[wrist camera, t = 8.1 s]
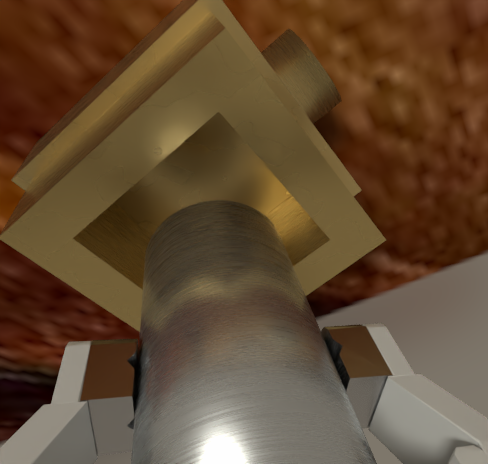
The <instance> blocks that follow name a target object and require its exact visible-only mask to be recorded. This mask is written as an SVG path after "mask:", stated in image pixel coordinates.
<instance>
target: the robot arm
mask: <svg viewBox="0 0 488 464" xmlns="http://www.w3.org/2000/svg"><path fill="white" fill-rule="evenodd" d="M321 334H322V336H323V338H324V341H325V343H326V345H327V348H328V350H329V352H330V355H331V357H332V359H333V362H334V364H335V367H336V369H337V371H338V374H339V376H340V378H341V381H342V383H343V385H344V388H345V390H346V392H347V395H348V397H349V400H350V402H351V404H352V407H353V409H354V411H355V414H356V416H357V418H358V421H359V423H360V425H361V428H369V430H370V431H371V432H372V433H373V434H374V435H375V436H376V437H377V438H378V439H379V440H380V441H381V442H382V443H383V444H384V445H385V446H386V447H387V448H388V449H389V450H390V451H391V452H392V453H393V454H394V455H395V456H396V457H397V458H398V459H399V460H400V461H401V462H402V463H403V464H488V418H486V417H485V416H484V415H482V414H481V413H479V412H478V411H476V410H475V409H473V408H472V407H470V406H469V405H467V404H466V403H464V402H463V401H461V400H460V399H458V398H457V397H455V396H453V395H452V394H450V393H449V392H448V391H446V390H444V389H443V388H442V387H440V386H438V385H437V384H436V383H434V382H433V381H431V380H429V379H428V378H427V377H425V376H424V375H422V374H415V373H414V371H413V370H412V368H411V366H410V365H409V363H408V362H407V360H406V358H405V357H404V355H403V353H402V352H401V350H400V349H399V347H398V345H397V344H396V342H395V341H394V339H393V337H392V336H391V334H390V333H389V331H388V329H387V328H386V326H385V325H383V324H382V323H376V324H363V325H348V326H334V327H324V328H323V329H322V331H321ZM138 359H139V346H138V339H120V340H93V341H77V342H69V343H68V344H67V346H66V348H65V352H64V355H63V359H62V363H61V367H60V371H59V375H58V379H57V383H56V387H55V390H54V394H53V398H52V402H51V404H48V405H43V406H42V407H41V408H40V409H39V410H38V411H37V412H36V413H35V414H34V415H33V416H32V417H31V418H30V419H29V420H28V421H27V422H26V423H25V424H24V425H23V426H22V427H21V428H20V429H19V430H18V431H17V432H16V433H15V434H14V435H13V436H12V437H11V438H10V439H9V440H8V441H7V442H6V443H5V444H4V445H3V446H2V447H1V448H0V464H94V463H95V461H96V460H97V456H99V455H107V454H115V453H122V452H129V451H132V444H133V429H134V418H135V404H136V384H137V373H138Z"/></svg>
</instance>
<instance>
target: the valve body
mask: <svg viewBox="0 0 488 464" xmlns="http://www.w3.org/2000/svg"><path fill="white" fill-rule="evenodd" d="M341 101H342V100H341V97H340V94H339V92H338V90H337V89H336V87H335V85H334V84H333V82H332V80H331V79H330V77H329V76H328V74H327V73H326V71H325V70H324V68H323V67H322V66H321V64H320V63H319V61H318V60H317V59H316V57H315V56H314V55H313V53H312V52H311V51H310V50H309V48H308V47H307V46H306V45H305V44H304V42H303V41H302V40H301V39H300V38H299V37H298V36H297V35H296V34H295V33H294V32H293V31H292V30H290V29H287V30H286V31H285V32H284V33H283V34H282V35H281V36H279V37H278V38H277V39H276V40H275V41H274V42H273V43H272V44H270V45H269V46H268V47H267V48H266V49H265V50H264V51H263V52H261V53H260V51H259V50H258V49H257V47H256V46H255V45H254V43H253V42H252V40H251V39H250V38H249V36H248V35H247V34H246V32H245V31H244V30H243V28H242V27H241V25H240V24H239V23H238V21H237V20H236V19H235V17H234V16H233V15H232V13H231V12H230V11H229V9H228V8H227V6H226V5H225V4H224V2H223V1H222V0H183V1H182V2H181V3H180V4H179V5H178V6H177V7H175V8H174V9H173V10H172V11H171V12H170V13H169V14H168V15H167V16H166V17H165V18H164V19H163V20H162V21H161V22H160V23H159V24H158V25H157V26H156V27H155V28H154V29H153V30H152V31H151V32H150V33H149V34H148V35H147V36H146V37H145V38H144V39H143V40H142V41H141V42H140V43H138V44H137V45H136V46H135V47H134V48H133V49H132V50H131V51H130V52H129V53H128V54H127V55H126V56H125V57H124V58H123V59H122V60H121V61H120V62H119V63H118V64H117V65H116V66H115V67H114V68H113V69H112V70H111V71H110V72H109V73H108V74H107V75H106V76H105V77H104V78H103V79H101V80H100V81H99V82H98V83H97V84H96V85H95V86H94V87H93V88H92V89H91V90H90V91H89V92H88V93H87V94H86V95H85V96H84V97H83V98H82V99H81V100H80V101H79V102H78V103H77V104H76V105H75V106H74V107H73V108H72V109H71V110H70V111H69V112H68V113H67V114H66V115H64V116H63V117H62V118H61V119H60V120H59V121H58V122H57V123H56V124H55V125H54V126H53V127H52V128H51V129H50V130H49V131H48V132H47V133H46V134H45V135H44V136H43V137H42V138H41V139H40V140H39V141H38V142H37V143H36V145H35V146H34V147H33V149H32V150H31V152H30V153H29V155H28V156H27V158H26V159H25V161H24V162H23V164H22V165H21V167H20V168H19V170H18V171H17V173H16V174H15V175H14V177H13V178H12V181H13V182H14V183H16V184H17V185H18V186H20V187H21V188H22V189H24V190H25V193H24V195H23V196H22V198H21V200H20V201H19V203H18V205H17V207H16V208H15V210H14V212H13V213H12V215H11V217H10V219H9V220H8V222H7V224H6V225H5V227H4V229H3V231H2V232H1V234H0V240H2V241H3V242H5V243H6V244H8V245H9V246H11V247H12V248H14V249H15V250H17V251H18V252H20V253H22V254H23V255H25V256H26V257H28V258H29V259H31V260H32V261H34V262H35V263H37V264H38V265H40V266H41V267H43V268H44V269H46V270H47V271H49V272H50V273H52V274H53V275H55V276H56V277H58V278H59V279H61V280H62V281H64V282H65V283H67V284H68V285H70V286H71V287H73V288H74V289H76V290H77V291H79V292H80V293H82V294H83V295H85V296H86V297H88V298H89V299H91V300H92V301H94V302H95V303H97V304H98V305H100V306H101V307H103V308H104V309H106V310H108V311H109V312H111V313H112V314H114V315H115V316H117V317H118V318H120V319H121V320H123V321H124V322H126V323H127V324H129V325H130V326H132V327H133V328H135V329H136V330H138V331H139V332H140V325H141V310H142V295H143V280H144V265H145V254H146V249H147V246H148V243H149V241H150V239H151V237H152V235H153V233H154V232H155V231H156V229H157V228H158V227H159V226H160V225H161V224H162V222H163V221H165V220H166V219H167V218H168V217H169V216H171V215H172V214H174V213H175V212H177V211H179V210H181V209H183V208H185V207H187V206H190V205H193V204H196V203H200V202H205V201H213V200H227V201H234V202H238V203H242V204H245V205H248V206H250V207H252V208H254V209H256V210H258V211H259V212H261V213H262V214H264V215H265V216H266V217H267V218H268V219H269V220H270V221H271V222H272V223H273V224H274V226H275V227H276V229H277V230H278V233H279V235H280V237H281V239H282V242H283V244H284V246H285V249H286V251H287V253H288V256H289V258H290V260H291V263H292V265H293V268H294V270H295V272H296V275H297V277H298V279H299V282H300V284H301V286H302V289H303V291H304V293H305V296H307V295H308V294H309V293H311V292H312V291H314V290H315V289H317V288H318V287H320V286H321V285H322V284H324V283H325V282H327V281H328V280H330V279H331V278H332V277H334V276H335V275H337V274H338V273H340V272H341V271H343V270H344V269H345V268H347V267H348V266H350V265H351V264H353V263H354V262H355V261H357V260H358V259H360V258H361V257H363V256H364V255H366V254H367V253H368V252H370V251H371V250H373V249H374V248H376V247H377V246H378V245H380V244H381V243H383V242H384V241H386V239H385V238H384V236H383V235H382V234H381V232H380V231H379V230H378V229H377V227H376V226H375V225H374V223H373V222H372V221H371V219H370V218H369V217H368V215H367V214H366V213H365V211H364V210H363V209H362V207H361V206H360V205H359V203H358V202H357V201H356V199H355V198H354V197H353V196H355V195H356V194H357V193H359V192H360V191H361V189H360V187H359V186H358V185H357V183H356V182H355V181H354V179H353V178H352V177H351V175H350V174H349V172H348V171H347V170H346V168H345V167H344V166H343V164H342V163H341V162H340V160H339V159H338V157H337V156H336V155H335V153H334V152H333V151H332V149H331V148H330V147H329V145H328V144H327V143H326V141H325V140H324V138H323V137H322V136H321V134H320V133H319V132H318V130H317V129H316V128H315V126H314V125H313V124H314V123H315V122H316V121H318V120H319V119H320V118H321V117H322V116H324V115H325V114H326V113H327V112H329V111H330V110H331V109H332V108H334V107H335V106H336V105H337V104H339V103H340V102H341Z"/></svg>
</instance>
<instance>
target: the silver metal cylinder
mask: <svg viewBox="0 0 488 464" xmlns="http://www.w3.org/2000/svg"><path fill="white" fill-rule="evenodd" d="M131 464H377V463H376V461H375V459H374V456H373V454H372V452H371V449H370V447H369V445H368V442H367V440H366V437H365V435H364V433H363V430H362V428H361V425H360V423H359V421H358V418H357V416H356V414H355V411H354V409H353V407H352V404H351V402H350V400H349V397H348V395H347V392H346V390H345V388H344V385H343V383H342V381H341V378H340V376H339V374H338V371H337V369H336V367H335V364H334V362H333V359H332V357H331V355H330V352H329V350H328V348H327V345H326V343H325V341H324V338H323V336H322V334H321V331H320V329H319V326H318V324H317V322H316V319H315V317H314V315H313V312H312V310H311V308H310V305H309V303H308V301H307V298H306V296H305V293H304V291H303V289H302V286H301V284H300V282H299V279H298V277H297V275H296V272H295V270H294V268H293V265H292V263H291V260H290V258H289V256H288V253H287V251H286V249H285V246H284V244H283V242H282V239H281V237H280V235H279V233H278V230H277V229H276V227H275V226H274V224H273V223H272V222H271V221H270V220H269V219H268V218H267V217H266V216H265V215H264V214H262V213H261V212H259V211H258V210H256V209H254V208H252V207H250V206H248V205H245V204H242V203H238V202H234V201H227V200H213V201H205V202H200V203H196V204H193V205H190V206H187V207H185V208H183V209H181V210H179V211H177V212H175V213H174V214H172V215H171V216H169V217H168V218H167V219H166V220H165V221H163V222H162V224H161V225H160V226H159V227H158V228H157V229H156V231H155V232H154V233H153V235H152V237H151V239H150V241H149V243H148V246H147V249H146V254H145V265H144V280H143V295H142V310H141V325H140V340H139V359H138V373H137V384H136V404H135V418H134V429H133V444H132V459H131Z"/></svg>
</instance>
